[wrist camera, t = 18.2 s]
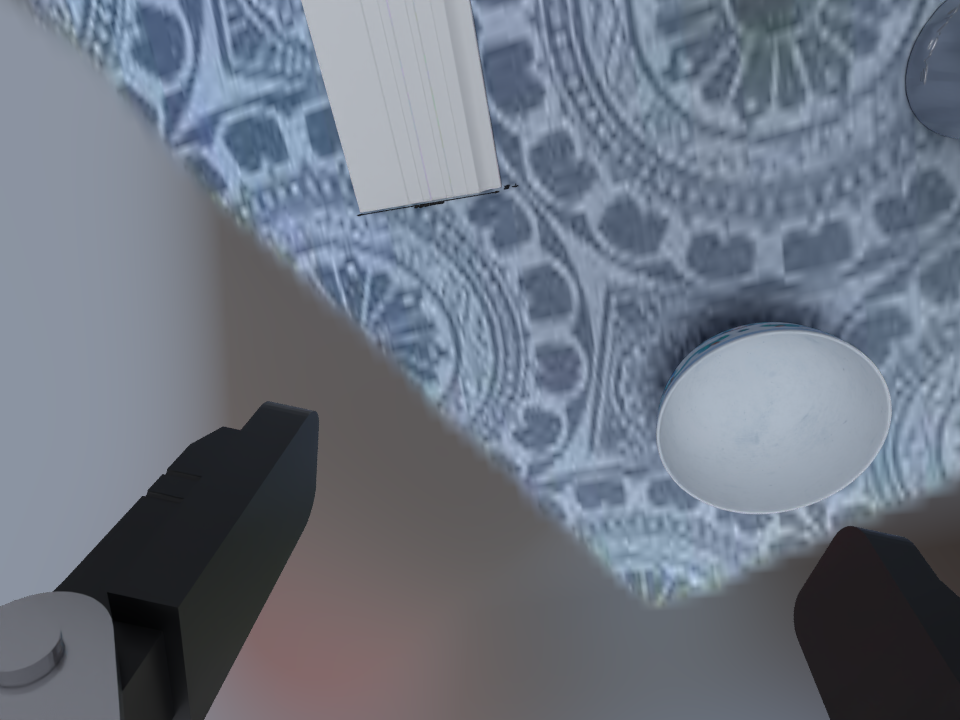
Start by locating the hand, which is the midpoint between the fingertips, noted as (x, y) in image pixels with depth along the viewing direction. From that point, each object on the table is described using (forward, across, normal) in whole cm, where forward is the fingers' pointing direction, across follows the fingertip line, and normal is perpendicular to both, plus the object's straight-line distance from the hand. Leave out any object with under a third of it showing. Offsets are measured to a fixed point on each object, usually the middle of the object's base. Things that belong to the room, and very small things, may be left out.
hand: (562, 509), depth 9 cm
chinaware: (+36, -18, +14) cm, 43 cm away
